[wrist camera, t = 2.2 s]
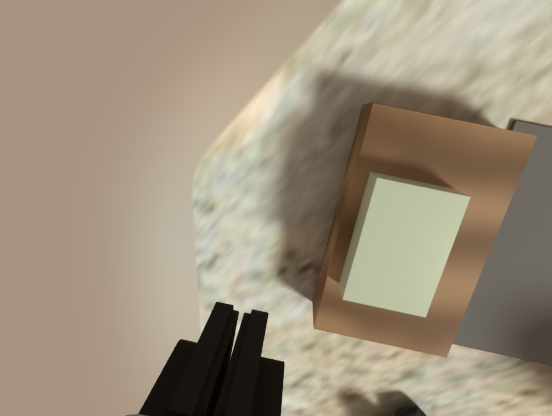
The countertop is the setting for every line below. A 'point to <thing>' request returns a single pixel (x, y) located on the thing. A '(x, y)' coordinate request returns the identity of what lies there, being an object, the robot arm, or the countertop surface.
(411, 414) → the can opener
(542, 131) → the mat
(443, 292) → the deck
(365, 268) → the pale green flat block
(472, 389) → the countertop surface
